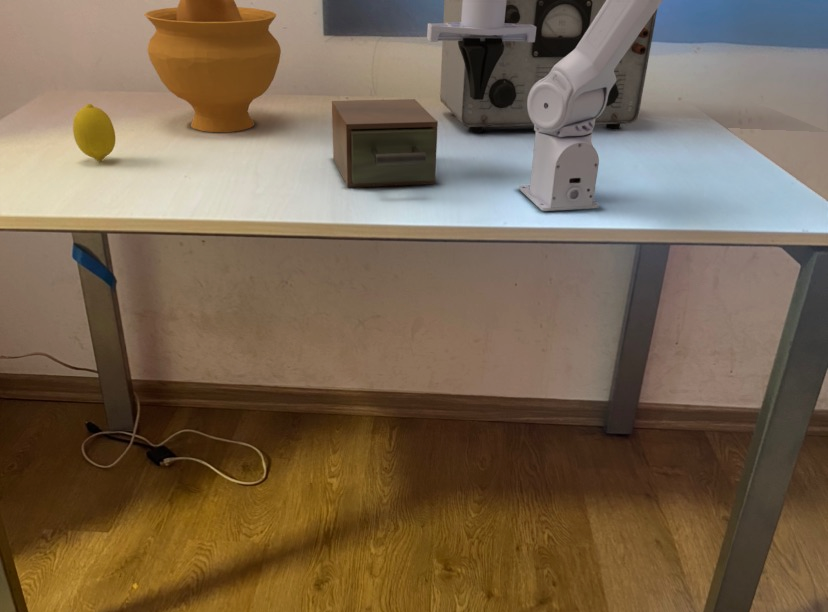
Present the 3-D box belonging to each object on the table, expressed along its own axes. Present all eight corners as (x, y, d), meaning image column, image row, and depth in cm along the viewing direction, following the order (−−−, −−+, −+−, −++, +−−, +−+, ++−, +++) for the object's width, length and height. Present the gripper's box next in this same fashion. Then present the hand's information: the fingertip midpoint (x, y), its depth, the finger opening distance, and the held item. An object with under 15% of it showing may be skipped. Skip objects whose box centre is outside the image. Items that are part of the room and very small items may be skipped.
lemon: (78, 167, 113) (66, 109, 108) (81, 157, 117) (69, 100, 113) (119, 166, 114) (108, 107, 110) (120, 155, 118) (110, 99, 114)
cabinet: (435, 183, 111) (437, 121, 106) (347, 187, 109) (346, 124, 104) (413, 156, 122) (414, 99, 118) (333, 159, 120) (331, 100, 115)
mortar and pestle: (298, 135, 131) (287, -79, 114) (167, 144, 124) (135, -82, 107) (269, 107, 147) (256, -84, 130) (151, 114, 140) (122, -87, 124)
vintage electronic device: (463, 138, 132) (474, -34, 118) (439, 112, 147) (446, -43, 133) (640, 134, 138) (670, -31, 124) (600, 109, 152) (622, -40, 139)
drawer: (442, 191, 105) (444, 140, 102) (358, 195, 103) (358, 143, 100) (412, 154, 120) (414, 108, 116) (339, 157, 118) (338, 110, 114)
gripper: (528, -16, 107) (516, 91, 115) (423, -18, 104) (419, 91, 112) (546, -9, 102) (533, 102, 109) (436, -11, 99) (431, 103, 106)
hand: (476, 98), depth 110 cm, fingers closed
